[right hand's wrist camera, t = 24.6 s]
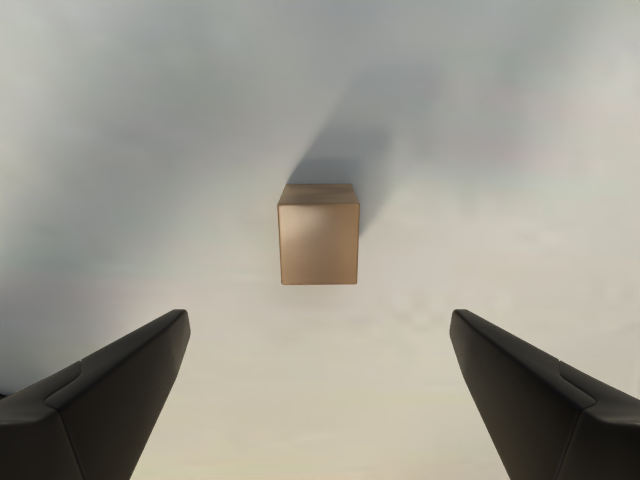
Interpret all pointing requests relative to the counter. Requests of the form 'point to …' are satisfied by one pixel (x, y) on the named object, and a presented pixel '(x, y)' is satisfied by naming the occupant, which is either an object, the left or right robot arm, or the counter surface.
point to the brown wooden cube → (318, 234)
